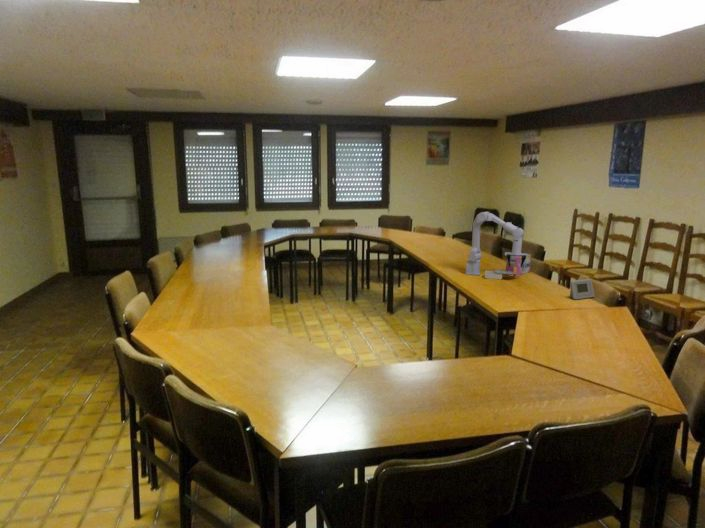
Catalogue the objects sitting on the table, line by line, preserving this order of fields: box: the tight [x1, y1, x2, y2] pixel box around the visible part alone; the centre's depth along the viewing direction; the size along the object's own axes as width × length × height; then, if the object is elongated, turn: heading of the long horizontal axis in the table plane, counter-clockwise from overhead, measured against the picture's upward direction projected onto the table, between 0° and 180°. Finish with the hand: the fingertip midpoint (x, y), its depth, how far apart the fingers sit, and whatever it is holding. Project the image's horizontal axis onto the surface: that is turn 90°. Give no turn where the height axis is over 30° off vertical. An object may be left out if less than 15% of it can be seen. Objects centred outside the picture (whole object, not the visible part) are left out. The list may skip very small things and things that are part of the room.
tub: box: [484, 270, 503, 280], centre depth 324 cm, size 11×8×4 cm
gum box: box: [505, 251, 532, 277], centre depth 338 cm, size 24×8×14 cm, turn 136°
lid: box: [494, 267, 517, 275], centre depth 321 cm, size 14×9×4 cm, turn 74°
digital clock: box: [569, 278, 595, 301], centre depth 277 cm, size 16×9×11 cm, turn 102°
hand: (515, 266), depth 319 cm, fingers open, 7 cm apart
